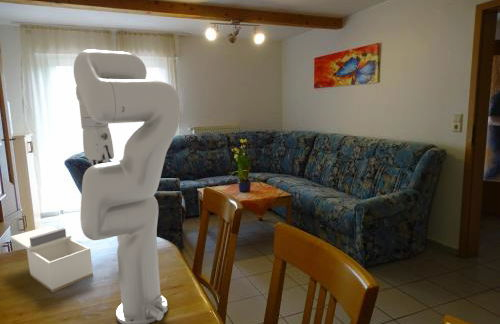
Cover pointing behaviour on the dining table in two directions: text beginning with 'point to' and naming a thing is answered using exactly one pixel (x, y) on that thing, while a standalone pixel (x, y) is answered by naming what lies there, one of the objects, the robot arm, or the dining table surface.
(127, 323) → the robot arm
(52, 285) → the carton
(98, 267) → the dining table surface
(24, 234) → the carton lid
